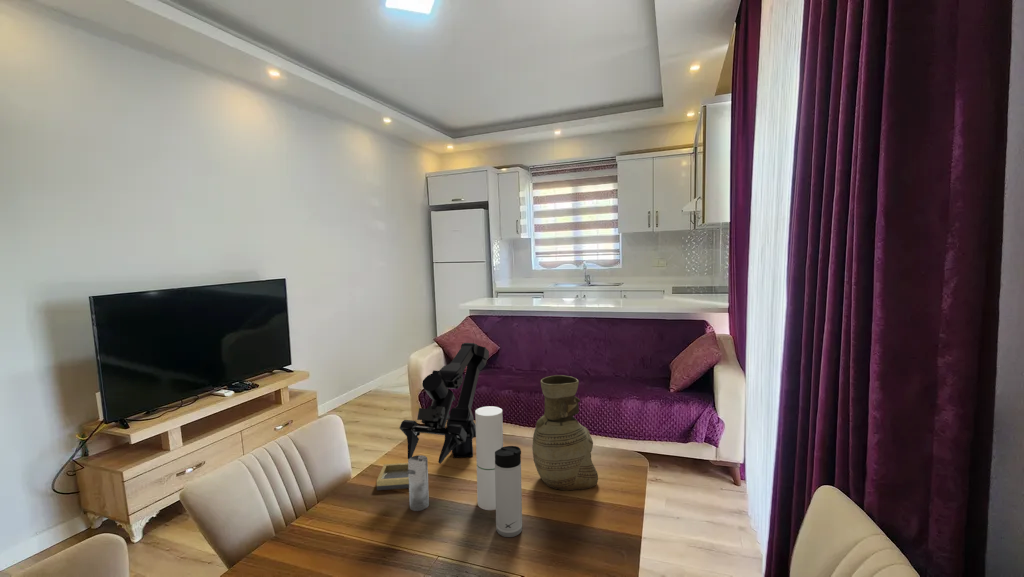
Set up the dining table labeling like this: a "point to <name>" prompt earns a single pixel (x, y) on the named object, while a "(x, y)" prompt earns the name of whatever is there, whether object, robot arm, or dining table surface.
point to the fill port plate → (393, 477)
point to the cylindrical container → (487, 453)
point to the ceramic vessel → (563, 438)
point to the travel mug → (508, 491)
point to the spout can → (418, 482)
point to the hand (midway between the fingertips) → (424, 461)
